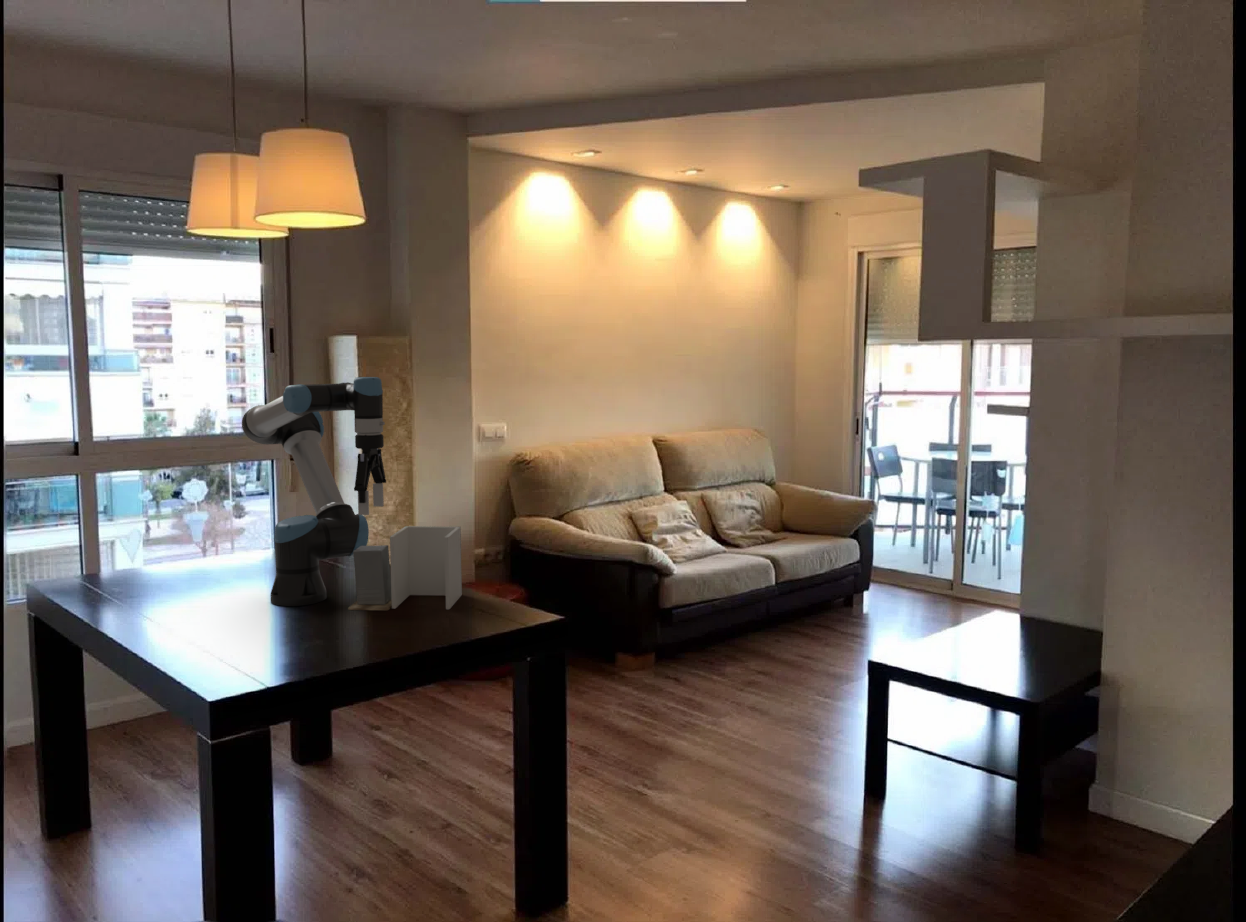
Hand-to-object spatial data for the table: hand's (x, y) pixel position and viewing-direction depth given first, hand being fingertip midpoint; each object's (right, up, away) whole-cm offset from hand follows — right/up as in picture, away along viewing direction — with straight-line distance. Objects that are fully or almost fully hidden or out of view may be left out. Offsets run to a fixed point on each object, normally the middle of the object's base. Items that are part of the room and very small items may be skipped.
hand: (371, 510), depth 277 cm
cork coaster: (0, -26, +3) cm, 27 cm away
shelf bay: (+14, -26, +6) cm, 30 cm away
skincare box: (0, -26, +3) cm, 26 cm away
